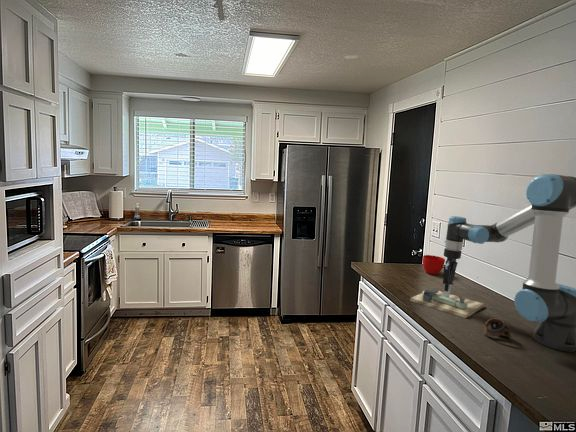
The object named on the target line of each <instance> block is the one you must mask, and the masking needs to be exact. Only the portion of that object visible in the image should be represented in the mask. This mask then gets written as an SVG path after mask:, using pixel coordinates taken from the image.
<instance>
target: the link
mask: <svg viewBox="0 0 576 432" xmlns="http://www.w3.org/2000/svg"><path fill="white" fill-rule="evenodd" d="M424 291H425V290H422V292H421V293H422V296H423V295H424ZM432 299H433V300H436V301H439V302H442V303H445V304H448V305H452V306H455V307H457V308H460V309H467V305H468V304H467V303H465V302H464V303H461V302H460V301H458V300H455V299H451V298H448V297H445V296H442V295H438V294H434V295H432Z"/></svg>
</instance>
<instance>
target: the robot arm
mask: <svg viewBox="0 0 576 432" xmlns="http://www.w3.org/2000/svg"><path fill="white" fill-rule="evenodd" d="M525 196H526V199H527V200H528V203H530V204H529V205H527V206H525V207H523V208H522V209H520V210H518V211H516V212H514V213H512V214H510V215H508V216H507V217H505V218H503V219H501V220H498V221H497V222H495V223H493V224H492V225H491V224H490V225H488V224H486V225H485V224H484V225H483V224H481V225H480V224H472V223H467V218H466V217H463V216H457V215H451V216H450V217H449V218H448V223H447V230H446V236H445V240H444V245H445V246H444V250H443V256H444V257H445V258H446V260H445V262H444V266H443V279H442V284H444V285H443V289H442V290H443V291H442V292H443V296H445V297H448V298H449V296H450V294H451V287H452V286H453V285H454V281H455V280H454V279H455V275H456V271H457V266H458V261H457V260H459V259H461V257H462V250H463V244H464V240H465V241H469V242H471V243H473V244H479V245H482V244H485V243H501V242H502V243H503V242H505V241H507V240H508V238H509V237H510V236H512V235H514V234H515V233H518V232H521V231H522V230H524V229H526V228H528V227H530V226H533V234H532V243H531V251H530V261H529V269H528V278H527V279H525V280H524V281H522V287H521V288H522V289H520V290H519V291H518V292H516V294H515V295H514V299H513V301H514V306H515V307H514V308H515V309H516V311H517V312H518V313H519V315H520V316H521V318H523V319H525V320H527V321H530V322H539V323H538V325H537V326H536V328H535V330H534V331H533V336H532V337H533V339H534V341H536V342H537V343H539V344H540V345H543V346H545V347H547V348H551V349H553V350H557V351H562V352H571V353H572V352H575V351H576V288H575V287H571V286H568V285H565V284H560V283H556V282H557V281H556V280H557V271H558V263H559V253H560V246H561V244H560V243H561V237H562V236H561V235H562V227H563V220H564V217H565V216H567V215H568V214H569V212H570V210H572V209H574V208H576V177H575V176H571V175H562V174H553V173H549V174H546V173H545V174H540V175H537V176H536V177H534V178H533V179H532V180H531V181H530V182H529V183H528V185H527V187H526V190H525ZM575 353H576V352H575Z"/></svg>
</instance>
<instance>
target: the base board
mask: <svg viewBox="0 0 576 432" xmlns="http://www.w3.org/2000/svg"><path fill="white" fill-rule="evenodd" d="M422 293H423V292H421V293H419V294H417V295H413V296H411V297H410V298H409V301H410V302H413V303H416V304H420V305H421V306H422V305H423V306H425V307H428V308H432V309H435V310H438V311H441V312H444V313H447V314H451V315H453V316H454V315H455V316H457V317H460V318H464V319H467V318H468V317H470V316H472V315H473V314H475V313H476V312H478V311H479V310H481V309H482V308H484V307H485V303H483V302H479V301H476V300H471V299H468V298H467V297H466V296H463V295H459V296H458V295H455V294H451V293H450V296H449V298H451V299H455V300H458V301H460V302H461V303H464V302H465V303H467V304H468V305H467V309H460V308H457V307H455V306H452V305H448V304H445V303H442V302H439V301H436V300H433V299H432V301H431V302H426V301H423V296H422ZM436 294H438V295H442V296H443V291H440V290H439V291H438V293H436Z"/></svg>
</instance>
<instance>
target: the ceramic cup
mask: <svg viewBox="0 0 576 432" xmlns="http://www.w3.org/2000/svg"><path fill="white" fill-rule="evenodd" d="M445 263H446V259H445V258H444V257H442V256H437V255H430V254H424V255H423V256H422V267H423V269H424V271H425V273H427V274H429V275H432V276H433V275H438V274H439V273H440V272H442V271H443V269H444V265H445Z"/></svg>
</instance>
